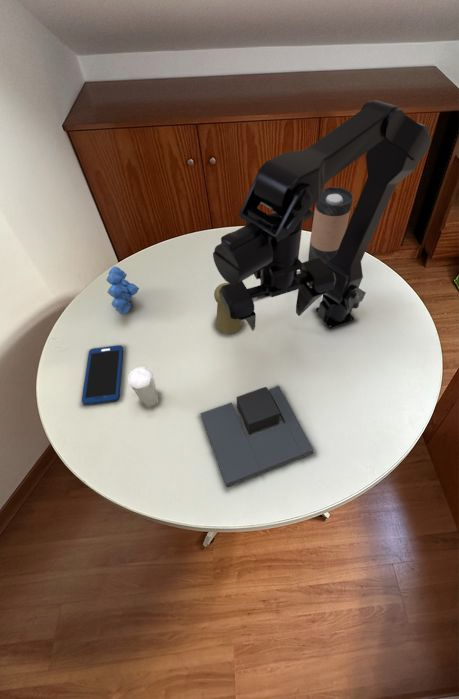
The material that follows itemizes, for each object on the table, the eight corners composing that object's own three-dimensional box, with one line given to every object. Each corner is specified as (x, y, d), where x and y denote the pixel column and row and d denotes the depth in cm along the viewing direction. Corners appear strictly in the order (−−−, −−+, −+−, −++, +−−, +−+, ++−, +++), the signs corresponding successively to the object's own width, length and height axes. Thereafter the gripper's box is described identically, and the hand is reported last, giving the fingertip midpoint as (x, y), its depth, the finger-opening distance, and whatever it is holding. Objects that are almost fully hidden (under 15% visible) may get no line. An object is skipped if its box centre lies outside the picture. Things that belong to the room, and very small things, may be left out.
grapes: (145, 324, 85) (131, 285, 76) (115, 328, 85) (98, 290, 75) (145, 290, 92) (132, 251, 83) (118, 294, 92) (102, 254, 83)
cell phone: (123, 346, 81) (122, 344, 81) (119, 400, 73) (118, 398, 72) (90, 350, 81) (89, 348, 80) (82, 405, 72) (80, 403, 72)
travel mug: (339, 279, 91) (357, 205, 75) (307, 280, 91) (319, 206, 75) (334, 260, 95) (349, 185, 80) (304, 261, 96) (314, 187, 80)
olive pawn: (239, 335, 81) (237, 300, 73) (213, 332, 82) (208, 297, 74) (244, 316, 85) (243, 279, 76) (219, 313, 86) (215, 277, 77)
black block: (265, 397, 72) (266, 386, 68) (279, 423, 68) (280, 413, 65) (237, 407, 70) (236, 396, 67) (248, 434, 67) (248, 424, 64)
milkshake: (155, 416, 70) (142, 388, 62) (134, 403, 72) (119, 375, 64) (169, 398, 73) (159, 369, 65) (149, 386, 74) (136, 357, 67)
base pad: (278, 389, 72) (278, 385, 71) (312, 453, 64) (313, 449, 63) (201, 416, 70) (200, 413, 68) (226, 487, 61) (226, 484, 60)
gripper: (310, 209, 62) (301, 280, 74) (204, 237, 58) (213, 306, 71) (345, 246, 55) (329, 318, 67) (228, 280, 52) (233, 349, 64)
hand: (275, 321), depth 67 cm, fingers open, 9 cm apart
